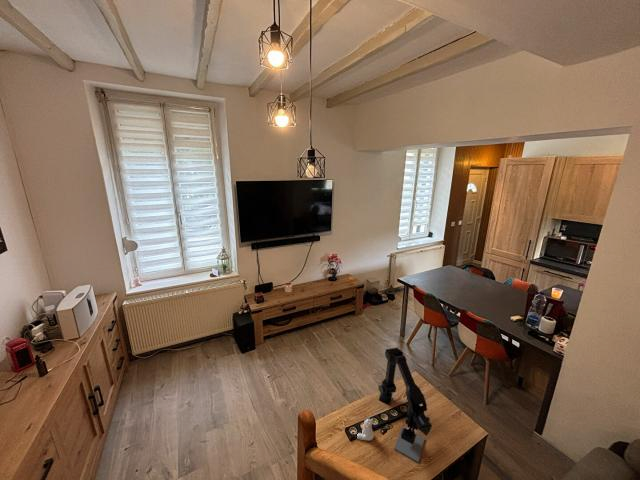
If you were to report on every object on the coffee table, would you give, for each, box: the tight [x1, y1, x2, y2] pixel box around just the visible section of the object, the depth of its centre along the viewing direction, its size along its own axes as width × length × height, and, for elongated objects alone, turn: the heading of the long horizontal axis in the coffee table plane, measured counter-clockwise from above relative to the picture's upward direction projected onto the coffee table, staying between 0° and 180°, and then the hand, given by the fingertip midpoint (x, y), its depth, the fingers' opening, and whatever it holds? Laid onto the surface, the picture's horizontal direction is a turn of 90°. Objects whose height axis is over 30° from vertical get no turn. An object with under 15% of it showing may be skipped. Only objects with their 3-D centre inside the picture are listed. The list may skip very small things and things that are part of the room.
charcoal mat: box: [393, 425, 425, 464], centre depth 138 cm, size 12×14×1 cm
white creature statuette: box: [356, 418, 375, 442], centre depth 141 cm, size 10×9×12 cm
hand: (410, 436), depth 137 cm, fingers closed on terracotta cube, 5 cm apart
